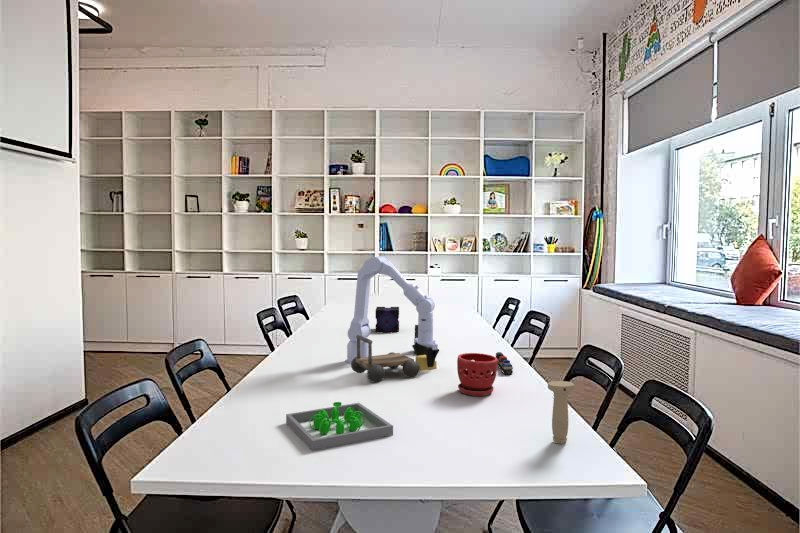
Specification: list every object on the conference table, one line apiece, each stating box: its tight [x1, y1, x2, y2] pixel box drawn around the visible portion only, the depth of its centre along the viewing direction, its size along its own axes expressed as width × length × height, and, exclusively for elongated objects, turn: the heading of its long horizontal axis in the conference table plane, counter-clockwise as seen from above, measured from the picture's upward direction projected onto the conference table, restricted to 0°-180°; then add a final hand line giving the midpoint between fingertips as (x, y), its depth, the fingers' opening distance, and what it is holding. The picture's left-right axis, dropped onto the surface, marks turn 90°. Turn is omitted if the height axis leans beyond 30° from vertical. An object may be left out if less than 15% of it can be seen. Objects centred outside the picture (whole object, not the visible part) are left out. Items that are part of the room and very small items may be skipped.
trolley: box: [350, 335, 420, 383], centre depth 205 cm, size 16×20×15 cm
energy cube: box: [375, 306, 400, 333], centre depth 294 cm, size 12×12×12 cm
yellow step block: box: [415, 355, 437, 372], centre depth 215 cm, size 4×7×5 cm, turn 118°
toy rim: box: [285, 402, 394, 452], centre depth 150 cm, size 22×22×2 cm
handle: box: [547, 380, 575, 445], centre depth 140 cm, size 5×6×15 cm
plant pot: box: [456, 352, 498, 397], centre depth 183 cm, size 13×13×12 cm
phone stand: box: [413, 324, 429, 355], centre depth 243 cm, size 9×6×12 cm, turn 173°
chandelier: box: [309, 401, 366, 436], centre depth 151 cm, size 15×15×7 cm
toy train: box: [495, 351, 514, 375], centre depth 216 cm, size 4×22×5 cm, turn 0°
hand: (425, 364), depth 215 cm, fingers open, 7 cm apart
